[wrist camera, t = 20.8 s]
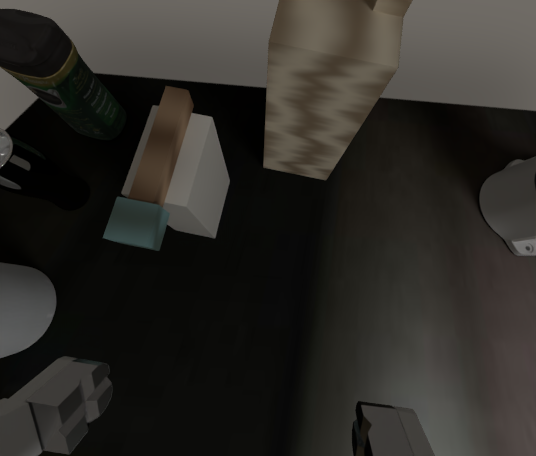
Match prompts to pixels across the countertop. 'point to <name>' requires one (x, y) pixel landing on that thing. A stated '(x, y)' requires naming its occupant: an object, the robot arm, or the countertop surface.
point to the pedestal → (192, 178)
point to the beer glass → (38, 175)
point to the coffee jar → (57, 74)
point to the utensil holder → (23, 307)
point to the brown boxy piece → (326, 77)
